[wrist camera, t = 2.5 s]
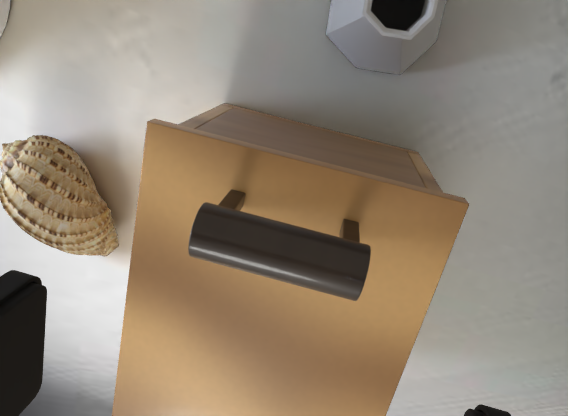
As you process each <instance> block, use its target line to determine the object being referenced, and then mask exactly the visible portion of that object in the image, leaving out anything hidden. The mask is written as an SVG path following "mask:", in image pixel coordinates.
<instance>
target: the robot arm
mask: <svg viewBox="0 0 568 416" xmlns="http://www.w3.org/2000/svg"><path fill="white" fill-rule="evenodd" d="M9 10H10V0H0V37H1V35H2V33H3V31H4V28H5V26H6V23H7V19H8V14H9ZM46 300H47V289H46V287H45V286H43V285H42V283H41V280H40V278H38V277H36V276H33V275H29V274H26V273H22V272H19V271H15V270H11V271H9V272H7V273H5V274H4V275H2V276H1V277H0V416H19V414H20V413H21V412H22V411H23V410H24V409H25V408H26V407H27V406H28V405H29V404H30V402H31V401H32V400H33V399H34V398H35V397H36V395H37V393H38V392H39V389H40V387H41V384H42V375H43V356H44V337H45V318H46ZM464 416H511V415H510V414H509V413H508V412H506V411H502V410H499V409H495V408H492V407H488V406H485V405H478V406H477V407H476V408H475V409H474V410H473V409H468V410H467V411H466V412H465V414H464Z"/></svg>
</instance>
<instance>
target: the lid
mask: <svg viewBox="0 0 568 416" xmlns="http://www.w3.org/2000/svg"><path fill="white" fill-rule="evenodd" d="M468 206H469V203H468V202H467V201H466V199H465V198H462V197H458V196H454V195H450V194H446V193H443V192H439V191H435V190H431V189H427V188H423V187H419V186H415V185H411V184H407V183H404V182H400V181H396V180H392V179H388V178H384V177H380V176H376V175H372V174H368V173H364V172H361V171H357V170H353V169H349V168H345V167H341V166H337V165H333V164H329V163H325V162H322V161H318V160H314V159H310V158H306V157H302V156H298V155H294V154H290V153H286V152H282V151H279V150H275V149H271V148H267V147H263V146H259V145H255V144H251V143H247V142H243V141H240V140H236V139H232V138H228V137H224V136H220V135H216V134H212V133H208V132H204V131H200V130H197V129H193V128H189V127H185V126H181V125H177V124H173V123H169V122H165V121H161V120H158V119H153V120H150V121H148V122H147V128H146V136H145V144H144V153H143V161H142V170H141V178H140V186H139V195H138V203H137V211H136V220H135V228H134V236H133V245H132V253H131V261H130V270H129V278H128V286H127V295H126V303H125V311H124V320H123V328H122V336H121V345H120V353H119V362H118V370H117V378H116V387H115V395H114V403H113V412H112V416H386V413H387V411H388V408H389V406H390V403H391V401H392V398H393V396H394V393H395V391H396V388H397V386H398V383H399V381H400V378H401V376H402V373H403V370H404V368H405V365H406V363H407V360H408V358H409V355H410V353H411V350H412V348H413V345H414V343H415V340H416V338H417V335H418V333H419V330H420V328H421V325H422V322H423V320H424V317H425V315H426V312H427V310H428V307H429V305H430V302H431V300H432V297H433V295H434V292H435V290H436V287H437V285H438V282H439V280H440V277H441V275H442V272H443V269H444V267H445V264H446V262H447V259H448V257H449V254H450V252H451V249H452V247H453V244H454V242H455V239H456V237H457V234H458V232H459V229H460V227H461V224H462V221H463V219H464V216H465V214H466V211H467V209H468Z"/></svg>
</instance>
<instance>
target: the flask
mask: <svg viewBox="0 0 568 416" xmlns="http://www.w3.org/2000/svg"><path fill="white" fill-rule="evenodd" d="M445 4H446V0H331V6H330V12H329V18H328V24H327V30H326V35H327V36H328V37H329V39H330V40H331V41H332V42H333V43H334V44H335V45H336V46H337V47H338V48H339V50H340V51H341V52H342V53H343V54H344V55H345V56H346V57H347V58H348V60H349V61H350V62H351V63H352V64H353V65H354V66H355V67H356V68H360V69H367V70H373V71H379V72H385V73H392V74H398V75H401V74H402V73H403V72H404V71H405V70H406V69H407V68H408V67H409V66H410V65H411V64H413V63H414V62H415V61H416V60H417V59H418V58H419V57H420V56H421V55H422V54H423V53H424V52H426V51H427V50H428V49H429V48H430V47H431V46H432V45H433V44H434V43H435V42H436V41H437V37H438V33H439V29H440V25H441V21H442V16H443V12H444V8H445Z"/></svg>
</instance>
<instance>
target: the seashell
mask: <svg viewBox="0 0 568 416" xmlns="http://www.w3.org/2000/svg"><path fill="white" fill-rule="evenodd" d="M2 146H3V152H2V157H3V159H2V160H1V161H0V166H1V171H2V178H1V181H0V200H1V203H2V205H3V208H4V209H5V211H6V212H7V213H8V215H9V216H10V217H11V218H12V220H13V221H14V222H15V223H16V224H17V225H18V226H19V227H20V228H21V229H22V230H24V231H25V232H26V233H28V234H29V235H30V236H32V237H33V238H35V239H37V240H38V241H40V242H42V243H44V244H46V245H49V246H51V247H53V248H57V249H59V250H61V251H64V252H67V253H71V254H76V255H84V254H85V255H102V256H107V255H109V254H110V253H111V252H112V251H114V250H115V249H116V248H117V247H118V246H119V244H118V238H117V236H118V235H117V234H116V232H115V230H116V228H115V227H114V226H113V218H112V217H111V210H109V209H108V207H107V203H106V202H105V201H104V200H103V199H102V198H101V197H100V196H99V194H98V192H97V191H96V186H95V183H94V181H93V179H92V178H91V176H90V173H89V171H88V169H87V167H86V165H85V163H84V162H83V160H82V159H81V158H80V156H79V155H78V154H77V153H76V152H75V151H74V150H73V149H72V148H71V147H69V146H68V145H66V144H64V143H63V142H61V141H59V140H58V139H55V138H52V137H49V136H43V135H37V136H34V135H33V136H32V137H29V138H28V139H27V140H24V141H21V140H16V141H14V142H13V143H9V144H2Z"/></svg>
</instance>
